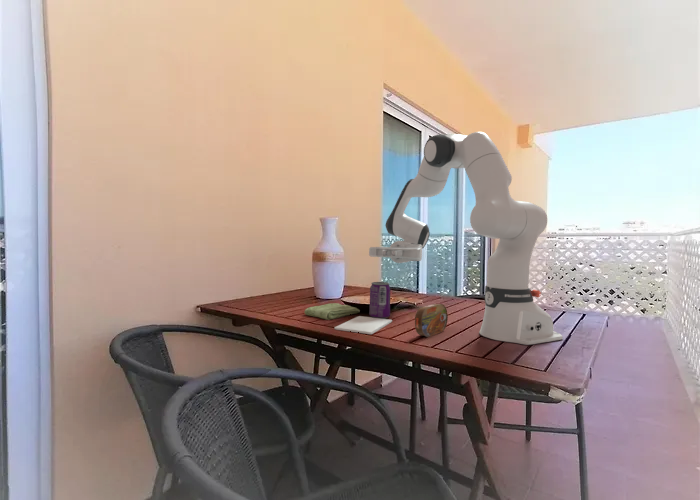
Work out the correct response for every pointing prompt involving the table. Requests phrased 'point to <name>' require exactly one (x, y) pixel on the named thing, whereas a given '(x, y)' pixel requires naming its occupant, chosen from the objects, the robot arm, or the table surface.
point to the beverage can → (380, 300)
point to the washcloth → (330, 311)
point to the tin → (431, 320)
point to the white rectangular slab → (363, 325)
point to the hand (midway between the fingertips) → (388, 253)
